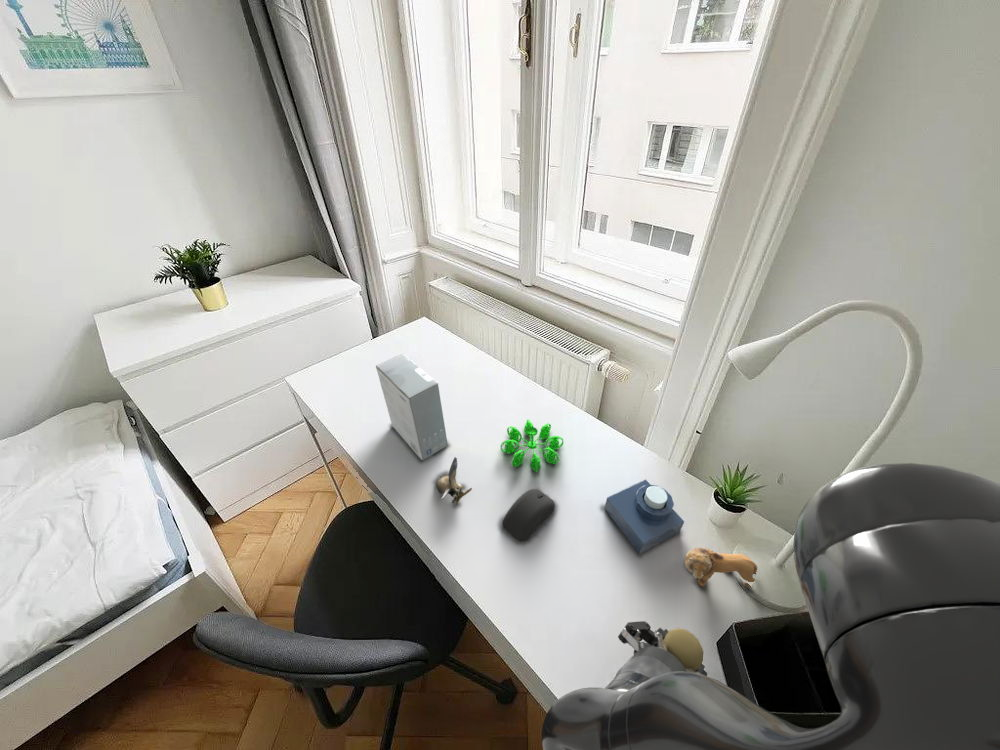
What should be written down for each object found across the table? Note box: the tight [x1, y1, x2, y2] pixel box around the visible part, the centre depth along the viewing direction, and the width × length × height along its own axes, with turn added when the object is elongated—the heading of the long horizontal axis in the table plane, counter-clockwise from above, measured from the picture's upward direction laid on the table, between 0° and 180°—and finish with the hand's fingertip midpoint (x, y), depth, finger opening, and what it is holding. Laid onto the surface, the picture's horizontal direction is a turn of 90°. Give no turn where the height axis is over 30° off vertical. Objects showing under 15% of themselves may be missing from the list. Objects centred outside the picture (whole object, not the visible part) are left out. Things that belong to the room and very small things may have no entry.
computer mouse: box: [501, 488, 556, 542], centre depth 83 cm, size 6×11×4 cm, turn 137°
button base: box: [604, 479, 685, 555], centre depth 81 cm, size 11×10×6 cm
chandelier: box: [500, 418, 564, 473], centre depth 96 cm, size 15×15×7 cm
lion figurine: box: [684, 547, 758, 589], centre depth 71 cm, size 15×5×9 cm, turn 95°
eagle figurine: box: [434, 456, 473, 506], centre depth 88 cm, size 8×7×9 cm
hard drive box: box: [375, 353, 449, 461], centre depth 96 cm, size 16×8×20 cm, turn 40°
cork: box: [664, 627, 704, 671], centre depth 60 cm, size 6×6×11 cm
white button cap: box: [644, 485, 667, 509], centre depth 79 cm, size 4×4×2 cm
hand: (681, 651), depth 60 cm, fingers closed on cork, 5 cm apart
